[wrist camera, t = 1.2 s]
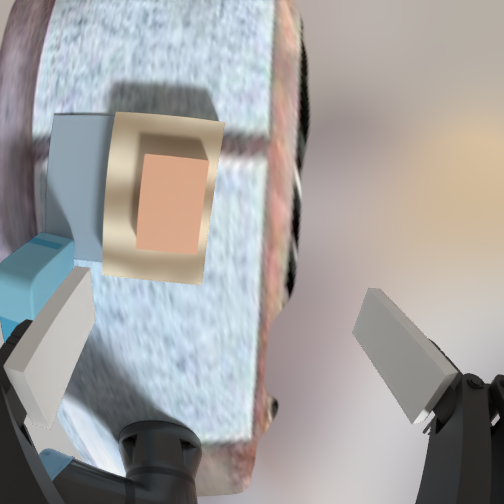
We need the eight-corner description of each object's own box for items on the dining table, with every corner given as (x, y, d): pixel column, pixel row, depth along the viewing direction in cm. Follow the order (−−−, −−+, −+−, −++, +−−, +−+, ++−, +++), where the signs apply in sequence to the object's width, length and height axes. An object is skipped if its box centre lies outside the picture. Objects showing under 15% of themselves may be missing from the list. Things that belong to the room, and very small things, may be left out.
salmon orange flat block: (196, 248, 31) (196, 254, 29) (139, 242, 29) (135, 248, 27) (208, 160, 28) (209, 160, 26) (147, 153, 27) (144, 153, 25)
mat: (111, 262, 33) (110, 263, 33) (47, 254, 31) (46, 255, 31) (124, 116, 28) (123, 116, 28) (55, 115, 26) (54, 115, 26)
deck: (200, 271, 36) (201, 285, 32) (111, 262, 33) (102, 274, 29) (221, 126, 31) (225, 122, 27) (124, 116, 28) (115, 111, 25)
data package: (45, 228, 30) (-7, 266, 19) (76, 235, 31) (31, 278, 20) (44, 311, 33) (8, 366, 22) (72, 320, 34) (42, 379, 23)
